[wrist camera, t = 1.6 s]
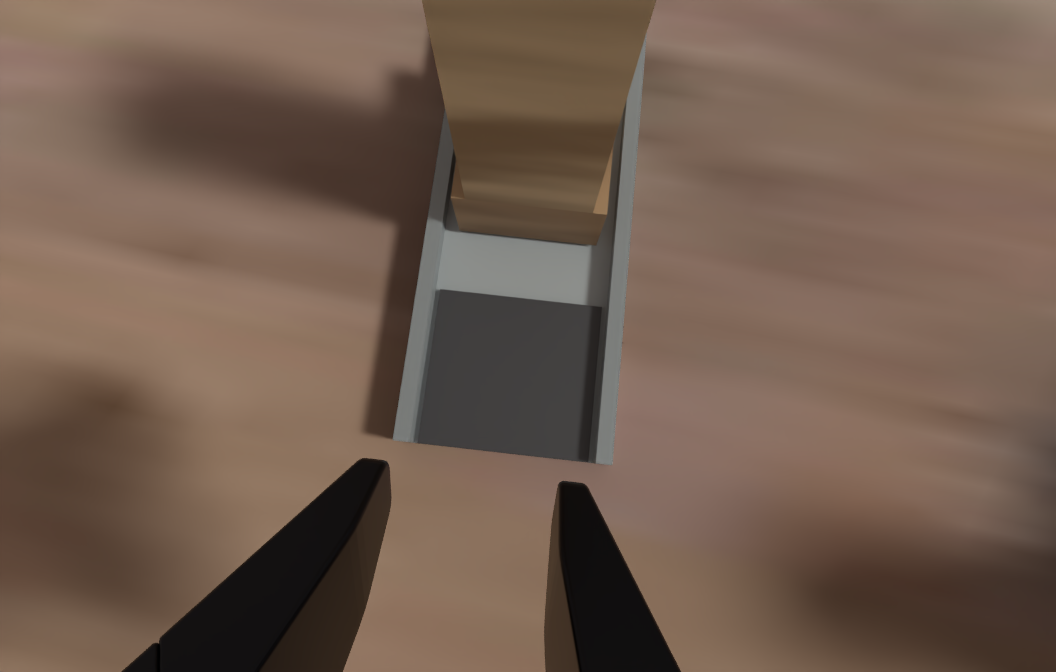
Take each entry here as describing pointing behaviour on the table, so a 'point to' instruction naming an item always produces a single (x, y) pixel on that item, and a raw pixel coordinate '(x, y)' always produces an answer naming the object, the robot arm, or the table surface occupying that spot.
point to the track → (520, 326)
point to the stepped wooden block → (535, 108)
